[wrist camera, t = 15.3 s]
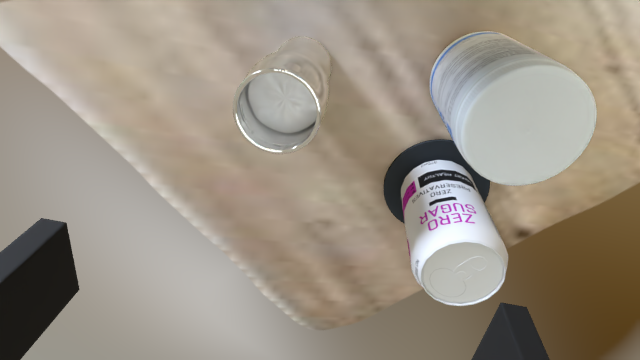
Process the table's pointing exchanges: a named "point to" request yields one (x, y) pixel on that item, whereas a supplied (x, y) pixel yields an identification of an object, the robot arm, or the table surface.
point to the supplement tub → (511, 108)
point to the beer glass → (284, 97)
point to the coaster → (419, 156)
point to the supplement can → (451, 235)
